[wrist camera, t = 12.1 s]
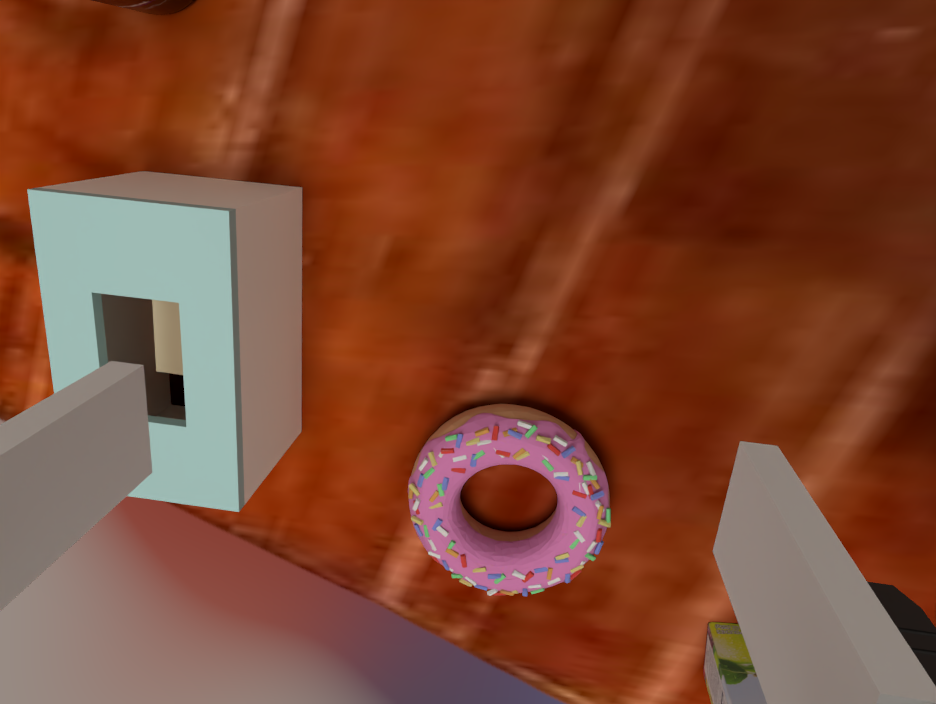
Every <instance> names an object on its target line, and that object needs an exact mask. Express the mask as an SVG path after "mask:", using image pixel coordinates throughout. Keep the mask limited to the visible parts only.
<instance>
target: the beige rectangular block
mask: <svg viewBox="0 0 936 704" xmlns="http://www.w3.org/2000/svg"><path fill="white" fill-rule="evenodd" d="M152 305H153V323H154V340H155V357H156V371H158V372H165V373H172V374H179V375H183V362H182V346H181V330H180V313H179V303H176V302H168V301H159V300H152Z"/></svg>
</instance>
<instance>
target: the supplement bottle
mask: <svg viewBox="0 0 936 704" xmlns="http://www.w3.org/2000/svg"><path fill="white" fill-rule="evenodd" d="M92 1H97V2H101V3H105V4H109V5H114V6H118V7H122V8H126V9H131V10H135V11H139V12H144V13H149V14H156V15H165V14H171V13H175V12H177V11H180V10H182V9H183V8H185V7H187V6H188V5H189V4H190V3H191V2H192V1H193V0H92Z"/></svg>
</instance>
